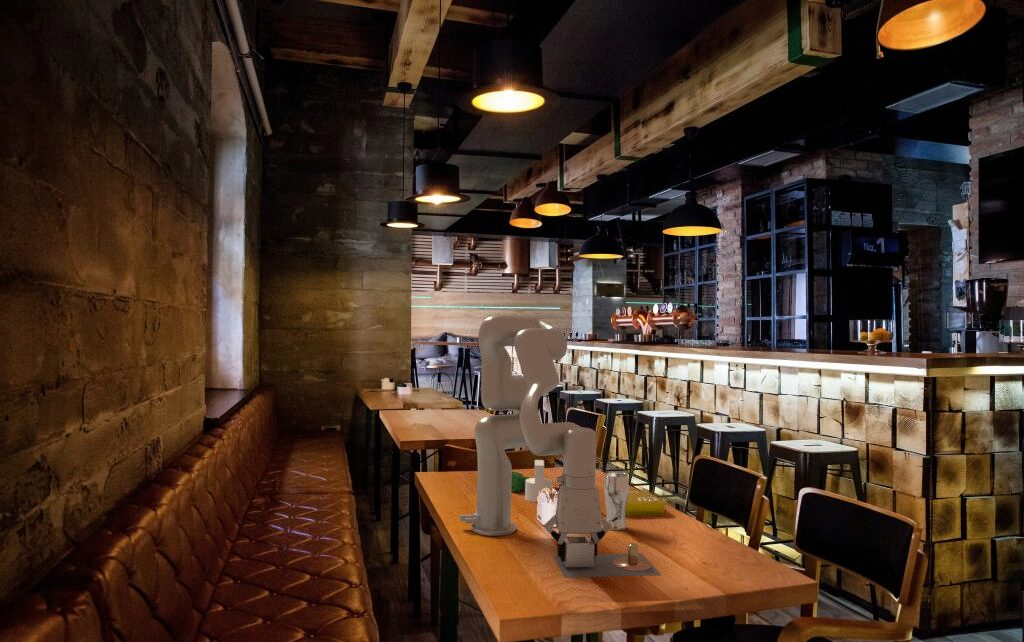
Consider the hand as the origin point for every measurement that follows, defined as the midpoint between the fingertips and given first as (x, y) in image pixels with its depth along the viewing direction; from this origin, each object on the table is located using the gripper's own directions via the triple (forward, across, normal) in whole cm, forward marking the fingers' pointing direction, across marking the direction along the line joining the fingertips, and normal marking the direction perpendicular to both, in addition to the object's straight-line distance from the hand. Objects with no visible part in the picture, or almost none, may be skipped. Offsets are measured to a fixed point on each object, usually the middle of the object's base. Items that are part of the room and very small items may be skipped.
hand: (577, 558), depth 148 cm
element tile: (+4, +30, +50) cm, 59 cm away
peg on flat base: (+1, +13, 0) cm, 13 cm away
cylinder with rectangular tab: (+4, +2, +65) cm, 65 cm away
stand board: (+3, +7, 0) cm, 7 cm away
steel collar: (+1, 0, 0) cm, 1 cm away
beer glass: (+3, +19, +33) cm, 38 cm away
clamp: (+4, -4, +78) cm, 78 cm away
